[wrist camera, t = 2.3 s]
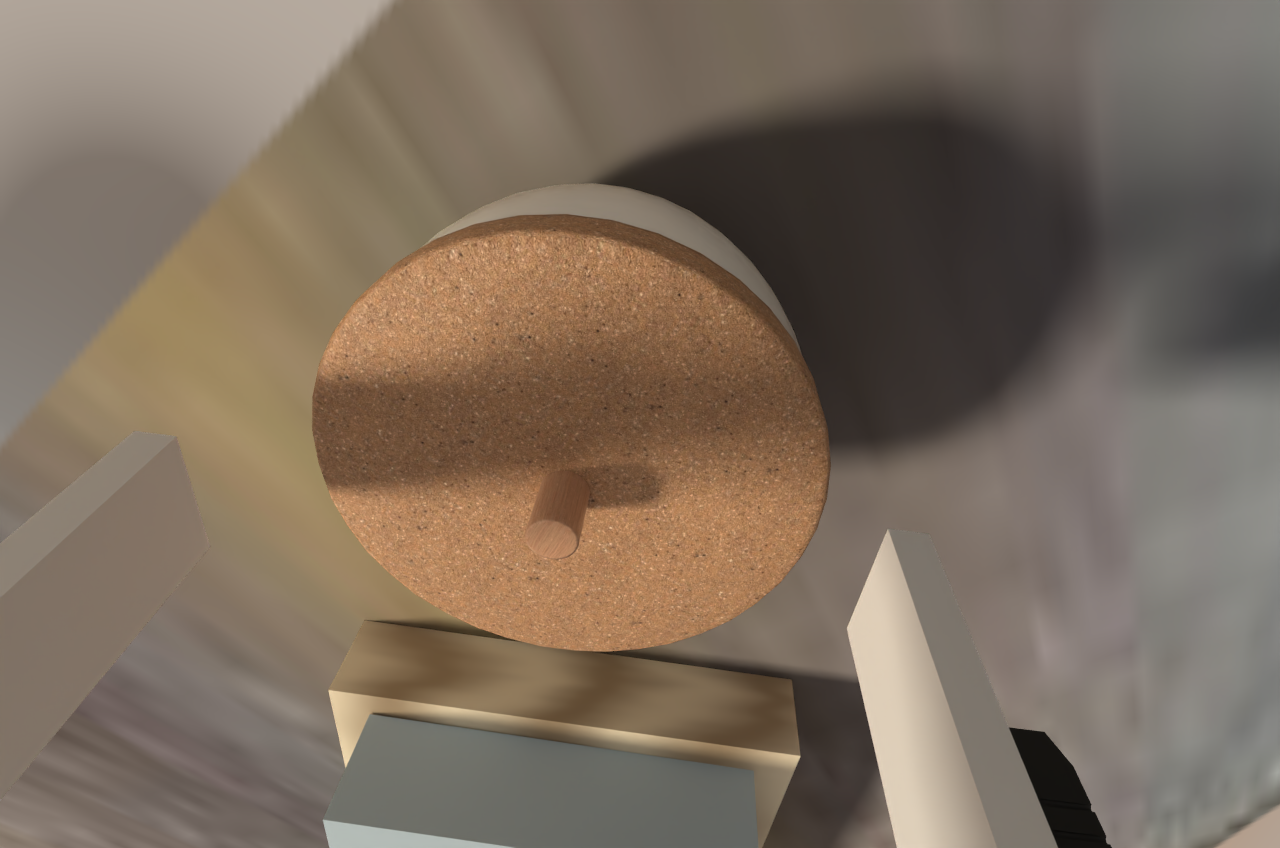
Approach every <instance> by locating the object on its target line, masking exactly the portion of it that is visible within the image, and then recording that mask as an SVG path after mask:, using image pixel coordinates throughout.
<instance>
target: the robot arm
mask: <svg viewBox="0 0 1280 848" xmlns="http://www.w3.org/2000/svg"><path fill="white" fill-rule="evenodd" d="M209 548H210V544H209V541H208V538H207V534H206V531H205V528H204V525H203V521H202V518H201V515H200V512H199V508H198V505H197V502H196V499H195V495H194V492H193V489H192V486H191V482H190V479H189V476H188V473H187V469H186V466H185V463H184V460H183V456H182V453H181V450H180V447H179V443H178V440H177V437H176V436H169V435H161V434H154V433H146V432H138V431H134V432H133V433H132V434H130V435H129V436H128V437H127V438H126V439H124V440H123V441H122V442H121V443H120V444H118V445H117V446H116V447H115V448H114V449H112V450H111V451H110V452H109V453H108V454H106V455H105V456H104V457H103V458H102V459H100V460H99V461H98V462H97V463H96V464H94V465H93V466H92V467H91V468H90V469H89V470H87V471H86V472H85V473H84V474H83V475H81V476H80V477H79V478H78V479H77V480H75V481H74V482H73V483H72V484H71V485H69V486H68V487H67V488H66V489H65V490H63V491H62V492H61V493H60V494H59V495H57V496H56V497H55V498H54V499H53V500H51V501H50V502H49V503H48V504H47V505H46V506H44V507H43V508H42V509H41V510H40V511H38V512H37V513H36V514H35V515H34V516H32V517H31V518H30V519H29V520H28V521H26V522H25V523H24V524H23V525H22V526H20V527H19V528H18V529H17V530H16V531H14V532H13V533H12V534H11V535H10V536H9V537H7V538H6V539H5V540H4V541H3V542H1V543H0V800H1V799H2V798H3V797H4V795H5V794H6V793H7V792H8V791H9V789H10V788H11V787H12V786H13V785H14V783H15V782H16V781H17V780H18V779H19V777H20V776H21V775H22V774H23V773H24V771H25V770H26V769H27V768H28V766H29V765H30V764H31V763H32V762H33V760H34V759H35V758H36V757H37V756H38V754H39V753H40V752H41V751H42V750H43V748H44V747H45V746H46V745H47V744H48V742H49V741H50V740H51V739H52V737H53V736H54V735H55V734H56V733H57V731H58V730H59V729H60V728H61V727H62V725H63V724H64V723H65V722H66V721H67V719H68V718H69V717H70V716H71V715H72V713H73V712H74V711H75V710H76V708H77V707H78V706H79V705H80V704H81V702H82V701H83V700H84V699H85V698H86V696H87V695H88V694H89V693H90V692H91V690H92V689H93V688H94V687H95V686H96V684H97V683H98V682H99V681H100V680H101V678H102V677H103V676H104V675H105V673H106V672H107V671H108V670H109V669H110V667H111V666H112V665H113V664H114V663H115V661H116V660H117V659H118V658H119V657H120V655H121V654H122V653H123V652H124V651H125V649H126V648H127V647H128V646H129V644H130V643H131V642H132V641H133V640H134V638H135V637H136V636H137V635H138V634H139V632H140V631H141V630H142V629H143V628H144V626H145V625H146V624H147V623H148V622H149V620H150V619H151V618H152V617H153V615H154V614H155V613H156V612H157V611H158V609H159V608H160V607H161V606H162V605H163V603H164V602H165V601H166V600H167V599H168V597H169V596H170V595H171V594H172V593H173V591H174V590H175V589H176V588H177V587H178V585H179V584H180V583H181V582H182V580H183V579H184V578H185V577H186V576H187V574H188V573H189V572H190V571H191V570H192V568H193V567H194V566H195V565H196V564H197V562H198V561H199V560H200V559H201V558H202V556H203V555H204V554H205V553H206V551H207V550H208V549H209ZM847 631H848V636H849V640H850V644H851V649H852V653H853V657H854V662H855V666H856V670H857V675H858V679H859V684H860V688H861V692H862V697H863V701H864V705H865V710H866V714H867V719H868V723H869V727H870V732H871V736H872V740H873V745H874V749H875V754H876V758H877V762H878V767H879V771H880V775H881V780H882V784H883V788H884V793H885V797H886V802H887V806H888V810H889V815H890V819H891V823H892V828H893V832H894V837H895V841H896V845H897V848H1112V847H1111V845H1109V844H1107V843H1106V835H1105V833H1104V831H1103V828H1102V826H1101V824H1100V822H1099V820H1098V818H1097V816H1096V814H1095V812H1092V811H1091V803H1090V801H1089V799H1088V797H1087V794H1086V792H1085V790H1084V788H1083V786H1082V784H1081V782H1080V780H1079V777H1078V775H1077V773H1076V771H1075V769H1074V767H1073V766H1072V764H1071V763H1070V762H1069V761H1068V760H1067V758H1066V757H1065V756H1064V755H1063V754H1062V752H1061V751H1060V750H1059V749H1058V748H1057V747H1056V745H1055V744H1054V743H1053V742H1052V741H1051V739H1050V738H1049V737H1048V736H1047V735H1046V733H1045V732H1040V731H1032V730H1024V729H1016V728H1009V727H1008V725H1007V722H1006V720H1005V717H1004V715H1003V712H1002V710H1001V708H1000V705H999V703H998V700H997V698H996V695H995V693H994V690H993V688H992V686H991V683H990V681H989V678H988V676H987V673H986V671H985V669H984V666H983V664H982V661H981V659H980V656H979V654H978V652H977V649H976V647H975V644H974V642H973V639H972V637H971V634H970V632H969V630H968V627H967V625H966V622H965V620H964V617H963V615H962V613H961V610H960V608H959V605H958V603H957V600H956V598H955V596H954V593H953V591H952V588H951V586H950V583H949V581H948V578H947V576H946V574H945V571H944V569H943V566H942V564H941V561H940V559H939V557H938V554H937V552H936V549H935V547H934V544H933V542H932V540H931V537H930V535H929V534H926V533H918V532H910V531H903V530H895V529H888V530H887V532H886V535H885V537H884V540H883V542H882V545H881V547H880V549H879V552H878V554H877V557H876V559H875V562H874V564H873V566H872V569H871V571H870V574H869V576H868V579H867V581H866V583H865V586H864V588H863V591H862V593H861V596H860V598H859V600H858V603H857V605H856V608H855V610H854V613H853V615H852V617H851V620H850V622H849V625H848V627H847Z"/></svg>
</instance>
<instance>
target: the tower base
mask: <svg viewBox="0 0 1280 848" xmlns="http://www.w3.org/2000/svg"><path fill="white" fill-rule="evenodd" d="M328 691H329V695H330V700H331V704H332V709H333V713H334V717H335V722H336V726H337V731H338V735H339V740H340V744H341V749H342V753H343V758H344V762H345V767H346V766H347V764H348V762H349V760H350V757H351V755H352V753H353V751H354V748H355V746H356V744H357V742H358V739H359V737H360V735H361V733H362V730H363V728H364V726H365V723H366V721H367V719H368V717H369V714H372V715H379V716H386V717H393V718H400V719H406V720H413V721H420V722H427V723H434V724H440V725H447V726H454V727H461V728H468V729H475V730H481V731H488V732H495V733H502V734H509V735H515V736H522V737H529V738H536V739H543V740H549V741H556V742H563V743H570V744H577V745H584V746H590V747H597V748H604V749H611V750H618V751H624V752H631V753H638V754H645V755H652V756H658V757H665V758H672V759H679V760H686V761H693V762H699V763H706V764H713V765H720V766H727V767H733V768H740V769H746V770H753V771H754V783H755V800H756V816H757V832H758V848H762V847H763V845H764V842H765V840H766V837H767V835H768V833H769V830H770V828H771V825H772V823H773V821H774V818H775V816H776V814H777V811H778V809H779V806H780V804H781V802H782V799H783V797H784V794H785V792H786V790H787V787H788V785H789V782H790V780H791V778H792V775H793V773H794V771H795V768H796V766H797V763H798V761H799V759H800V756H801V755H800V747H799V738H798V729H797V721H796V712H795V703H794V695H793V686H792V680H791V679H784V678H776V677H769V676H762V675H755V674H748V673H740V672H733V671H726V670H719V669H712V668H704V667H697V666H690V665H683V664H676V663H668V662H661V661H654V660H647V659H640V658H633V657H625V656H618V655H611V654H604V653H597V652H589V651H577V650H567V649H559V648H550V647H542V646H538V645H534V644H530V643H525V642H517V641H510V640H503V639H496V638H489V637H481V636H474V635H467V634H460V633H453V632H445V631H438V630H431V629H424V628H417V627H409V626H402V625H395V624H388V623H381V622H373V621H366V620H365V621H364V622H363V624H362V626H361V628H360V630H359V632H358V634H357V636H356V638H355V640H354V642H353V644H352V646H351V647H350V649H349V651H348V653H347V655H346V657H345V659H344V661H343V663H342V665H341V667H340V669H339V671H338V672H337V674H336V676H335V678H334V680H333V682H332V684H331V686H330V688H329V690H328Z"/></svg>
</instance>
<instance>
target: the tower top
mask: <svg viewBox="0 0 1280 848" xmlns="http://www.w3.org/2000/svg"><path fill="white" fill-rule="evenodd" d="M323 822H324V826H325V830H326V835H327V839H328V843H329V847H330V848H758V832H757V816H756V800H755V783H754V771H753V770H746V769H740V768H733V767H727V766H720V765H713V764H706V763H699V762H693V761H686V760H679V759H672V758H665V757H658V756H652V755H645V754H638V753H631V752H624V751H618V750H611V749H604V748H597V747H590V746H584V745H577V744H570V743H563V742H556V741H549V740H543V739H536V738H529V737H522V736H515V735H509V734H502V733H495V732H488V731H481V730H475V729H468V728H461V727H454V726H447V725H440V724H434V723H427V722H420V721H413V720H406V719H400V718H393V717H386V716H379V715H372V714H369V717H368V719H367V721H366V723H365V726H364V728H363V730H362V733H361V735H360V737H359V739H358V742H357V744H356V746H355V748H354V751H353V753H352V755H351V757H350V760H349V762H348V764H347V766H346V769H345V771H344V773H343V775H342V778H341V780H340V782H339V785H338V787H337V789H336V791H335V794H334V796H333V798H332V800H331V803H330V805H329V807H328V809H327V812H326V814H325V816H324V818H323Z"/></svg>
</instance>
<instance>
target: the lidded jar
mask: <svg viewBox="0 0 1280 848" xmlns="http://www.w3.org/2000/svg"><path fill="white" fill-rule="evenodd" d="M312 431H313V436H314V441H315V446H316V452H317V457H318V462H319V465H320V468H321V471H322V474H323V476H324V479H325V482H326V485H327V487H328V490H329V493H330V496H331V498H332V500H333V502H334V503H335V505H336V507H337V508H338V510H339V512H340V513H341V515H342V517H343V519H344V520H345V522H346V524H347V525H348V527H349V528H350V529H351V531H352V532H353V533H354V535H355V536H356V537H357V539H358V540H359V541H360V543H361V544H362V545H363V547H364V548H365V549H366V551H367V552H368V553H369V554H370V555H371V556H372V557H373V558H374V559H375V560H376V561H377V562H379V563H380V564H381V565H382V566H383V567H384V568H385V569H386V570H387V571H388V572H389V573H390V574H391V575H392V576H393V577H395V578H396V579H397V580H398V581H400V582H401V583H402V584H403V585H405V586H406V587H407V588H408V589H410V590H411V591H412V592H414V593H415V594H416V595H417V596H419V597H421V598H422V599H424V600H426V601H427V602H429V603H431V604H432V605H434V606H436V607H437V608H439V609H441V610H442V611H444V612H446V613H448V614H450V615H452V616H454V617H456V618H458V619H460V620H462V621H464V622H466V623H468V624H471V625H473V626H475V627H477V628H480V629H483V630H486V631H489V632H492V633H494V634H497V635H500V636H503V637H506V638H510V639H514V640H518V641H522V642H526V643H530V644H534V645H538V646H542V647H550V648H559V649H567V650H577V651H601V652H609V651H621V650H633V649H642V648H647V647H653V646H659V645H664V644H670V643H673V642H676V641H679V640H683V639H686V638H689V637H692V636H695V635H698V634H701V633H703V632H705V631H708V630H710V629H712V628H714V627H717V626H719V625H721V624H723V623H726V622H728V621H730V620H732V619H733V618H735V617H736V616H738V615H739V614H741V613H742V612H744V611H745V610H747V609H748V608H750V607H751V606H753V605H754V604H756V603H757V602H758V601H759V600H760V599H762V598H763V597H764V596H765V595H766V594H767V593H769V592H770V591H771V590H772V589H773V588H775V587H776V586H777V585H778V584H779V583H780V582H781V581H782V580H783V579H784V577H785V576H786V575H787V574H788V572H789V571H790V570H791V569H792V568H793V566H794V565H795V564H796V563H797V561H798V560H799V559H800V558H801V556H802V555H803V553H804V551H805V549H806V548H807V546H808V544H809V542H810V540H811V539H812V537H813V535H814V533H815V531H816V530H817V527H818V524H819V521H820V518H821V515H822V512H823V509H824V506H825V503H826V500H827V493H828V485H829V476H830V468H831V462H830V450H829V438H828V429H827V424H826V420H825V417H824V413H823V410H822V406H821V403H820V399H819V396H818V392H817V389H816V385H815V382H814V379H813V377H812V374H811V372H810V371H809V369H808V367H807V365H806V363H805V361H804V359H803V357H802V354H801V350H800V347H799V344H798V341H797V338H796V336H795V333H794V331H793V329H792V327H791V325H790V323H789V321H788V319H787V317H786V315H785V313H784V311H783V309H782V307H781V305H780V303H779V301H778V299H777V297H776V296H775V294H774V292H773V291H772V289H771V287H770V286H769V285H768V283H767V282H766V281H765V279H764V278H763V277H762V275H761V274H760V273H759V271H758V270H757V268H756V267H755V266H754V264H753V263H752V262H751V260H749V259H748V258H747V257H746V256H745V255H744V254H743V253H742V252H741V251H740V250H739V249H738V248H737V247H736V246H735V245H734V244H733V243H732V242H731V241H730V240H729V239H728V238H727V237H726V236H724V235H723V234H722V233H721V232H720V231H719V230H717V229H716V228H714V227H713V226H711V225H710V224H709V223H707V222H706V221H704V220H703V219H701V218H700V217H698V216H697V215H695V214H694V213H693V212H691V211H689V210H687V209H685V208H683V207H680V206H678V205H676V204H674V203H672V202H670V201H668V200H666V199H664V198H661V197H658V196H655V195H651V194H648V193H645V192H641V191H638V190H635V189H631V188H627V187H619V186H611V185H603V184H595V183H592V184H562V185H555V186H549V187H544V188H540V189H535V190H530V191H525V192H520V193H516V194H513V195H511V196H508V197H506V198H503V199H500V200H498V201H495V202H493V203H490V204H488V205H485V206H483V207H481V208H479V209H477V210H475V211H473V212H472V213H470V214H468V215H466V216H465V217H463V218H461V219H460V220H458V221H457V222H455V223H453V224H452V225H450V226H448V227H447V228H445V229H444V230H442V231H440V232H439V233H438V234H436V235H435V236H434V237H433V238H432V239H430V240H429V241H428V242H427V243H426V244H424V245H423V246H422V247H421V248H420V249H418V250H417V251H415V252H413V253H412V254H410V255H408V256H407V257H405V258H404V259H402V260H400V261H399V262H397V263H396V264H395V265H394V266H393V267H392V268H390V269H389V270H388V271H387V272H386V273H385V274H384V275H383V276H382V277H381V278H380V279H378V280H377V281H376V282H375V283H374V284H373V285H372V286H371V287H370V288H369V289H367V290H366V291H365V292H364V293H363V294H362V295H361V296H360V297H359V298H358V299H357V300H356V301H355V302H354V304H353V305H352V307H351V308H350V309H349V311H348V312H347V314H346V315H345V316H344V318H343V319H342V321H341V322H340V323H339V325H338V326H337V328H336V329H335V330H334V332H333V334H332V336H331V338H330V341H329V343H328V345H327V348H326V350H325V352H324V354H323V357H322V359H321V361H320V364H319V368H318V373H317V378H316V383H315V388H314V392H313V410H312Z"/></svg>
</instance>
